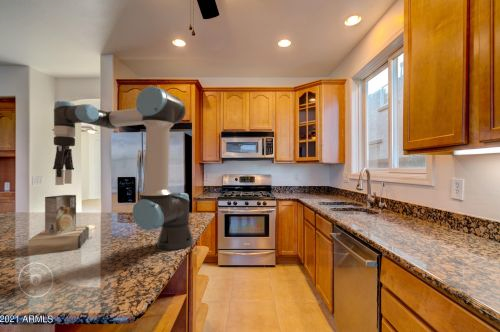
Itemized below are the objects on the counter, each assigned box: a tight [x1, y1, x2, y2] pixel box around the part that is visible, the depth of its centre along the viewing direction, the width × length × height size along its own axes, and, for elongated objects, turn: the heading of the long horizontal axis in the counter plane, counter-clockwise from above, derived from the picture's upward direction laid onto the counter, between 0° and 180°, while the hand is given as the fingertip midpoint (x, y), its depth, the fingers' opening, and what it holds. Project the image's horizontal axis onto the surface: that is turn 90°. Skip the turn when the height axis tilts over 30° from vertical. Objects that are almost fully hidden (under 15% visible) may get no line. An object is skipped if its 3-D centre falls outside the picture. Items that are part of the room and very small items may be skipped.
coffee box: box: [44, 194, 77, 235], centre depth 104 cm, size 9×6×16 cm
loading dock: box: [27, 225, 90, 256], centre depth 104 cm, size 18×17×6 cm
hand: (64, 184), depth 105 cm, fingers open, 13 cm apart
